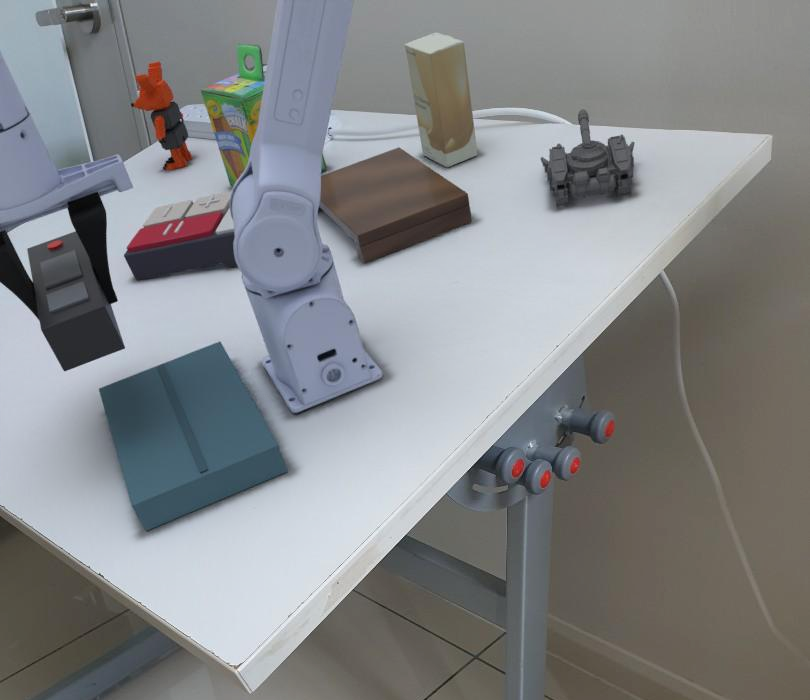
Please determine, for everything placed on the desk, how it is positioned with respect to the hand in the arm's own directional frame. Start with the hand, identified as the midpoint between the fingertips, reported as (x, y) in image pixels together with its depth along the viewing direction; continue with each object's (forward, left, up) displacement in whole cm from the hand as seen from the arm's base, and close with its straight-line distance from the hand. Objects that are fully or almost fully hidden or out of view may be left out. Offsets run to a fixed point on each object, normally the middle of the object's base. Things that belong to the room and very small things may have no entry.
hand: (80, 309), depth 67 cm
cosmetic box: (+30, -44, -10) cm, 54 cm away
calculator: (+29, -14, -10) cm, 33 cm away
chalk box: (+42, -26, -11) cm, 50 cm away
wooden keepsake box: (+21, -32, -10) cm, 39 cm away
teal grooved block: (-6, -4, -10) cm, 13 cm away
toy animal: (+61, -16, -10) cm, 63 cm away
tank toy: (+11, -51, -10) cm, 53 cm away
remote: (0, 0, 0) cm, 1 cm away
